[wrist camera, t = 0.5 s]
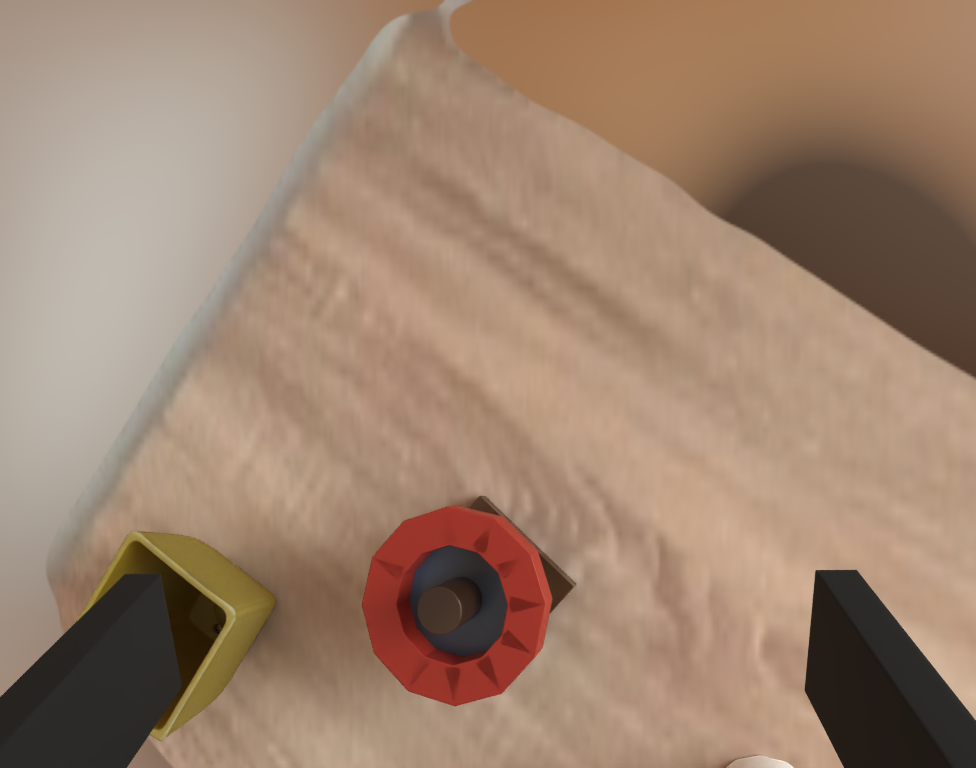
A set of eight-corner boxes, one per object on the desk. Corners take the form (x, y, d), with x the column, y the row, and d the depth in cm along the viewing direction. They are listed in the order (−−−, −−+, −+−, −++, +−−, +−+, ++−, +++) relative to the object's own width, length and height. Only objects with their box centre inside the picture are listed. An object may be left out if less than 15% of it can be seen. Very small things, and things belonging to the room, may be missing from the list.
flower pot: (314, 591, 50) (237, 614, 41) (248, 700, 50) (158, 746, 41) (221, 520, 52) (130, 527, 44) (159, 624, 53) (56, 652, 44)
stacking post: (576, 584, 46) (548, 610, 36) (492, 677, 46) (442, 728, 37) (484, 495, 48) (435, 498, 38) (405, 585, 48) (337, 610, 39)
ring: (587, 598, 39) (582, 604, 38) (466, 732, 40) (455, 744, 38) (457, 472, 42) (446, 471, 40) (345, 599, 43) (330, 605, 41)
